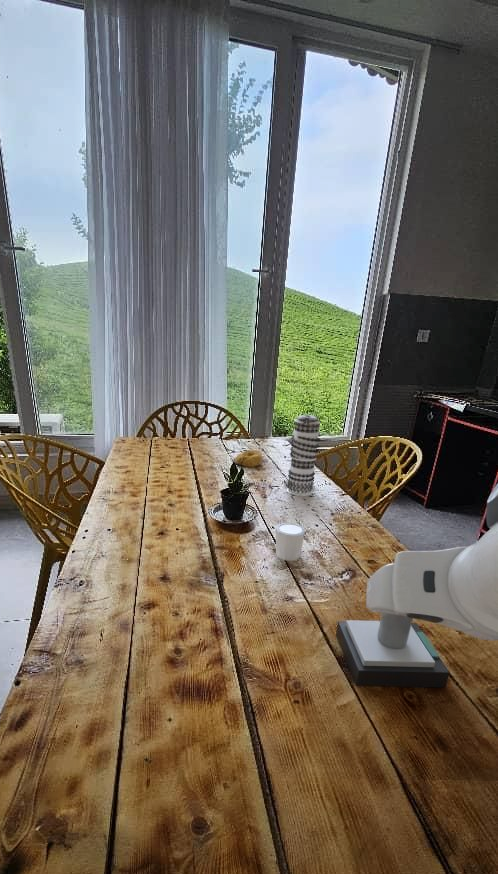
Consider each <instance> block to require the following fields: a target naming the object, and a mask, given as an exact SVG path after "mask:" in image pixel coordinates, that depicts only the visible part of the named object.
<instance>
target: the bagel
mask: <svg viewBox="0 0 498 874" xmlns="http://www.w3.org/2000/svg"><path fill="white" fill-rule="evenodd" d="M262 461H263V456H262V454H261V452H259V451H257V450H254V449H249V450H248V449H247V450H245V451H243V452H241V453H238V455H236V457H235V458H234V460H233V462H234V463H235V464H237V465H239V466H243V467H248V468H249V467H250V468H254V467H258V466H259V465H261V463H262Z"/></svg>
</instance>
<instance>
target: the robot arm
mask: <svg viewBox="0 0 498 874" xmlns="http://www.w3.org/2000/svg"><path fill="white" fill-rule="evenodd" d="M485 513H486V514H485V518H486V519H485V520H486V526H487V528H489V530H488V531H486V532H485V533H484V534H483V535H482V536H481V537H480V538H479V539H478V541H477V542H474V543H472V544H470V545H468V546H457V547H452V548H446V549H438V550H437V549H433V550H432V549H431V550H402V551H399V552H397V553H395V555H394V561H393V562H392V563H387V564H385V565H383V566H381V567H379V569H377V570H376V571H375V572H374V573H372V575H371V576H370V577H369V579H368V580H367V583H366V593H365V604H366V605H365V606H366V609H367V610H368V611H370V612H372V613H378V614H379V613H381V614H382V613H387V614H394V615H399V616H406V617H410V618H413V619H416V620H422V621H426V622H430V623H432V624H433V623H434V624H438V625H441V626H444V627H446V628H449V629H452V630H454V631H458V632H463V633H464V634H466V635H468V636H470V637H473V638H475V639H478V640H484V641H498V483H497V484H496V485H495V486H494V487H493V489H492V491H491V493H490V495H489V496H488V499H487V500H486V511H485Z"/></svg>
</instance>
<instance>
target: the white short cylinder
mask: <svg viewBox="0 0 498 874" xmlns="http://www.w3.org/2000/svg"><path fill="white" fill-rule="evenodd" d="M305 535H306V529H305V528H304V527H303V526H302V525H301V524H297V523H293V522H292V523H291V522H282V523H280V524H277V525H276V526H275V555H276V557H277V558H278V559H280V560H283V561H285V562H287V561H288V562H294V561H298V560H299V559H300V556H301V551H302V549H303V544H304V538H305Z"/></svg>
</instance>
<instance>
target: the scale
mask: <svg viewBox="0 0 498 874" xmlns="http://www.w3.org/2000/svg"><path fill="white" fill-rule="evenodd" d="M379 625H380V620H359V619H357V620H355V619H346V620H338V621H337V626H336V631H335V637H336V639H337V642H338V644H339V646H340V650H341V651H342V654H343V657H344V659H345V662H346V665H347V667H348V669H349V672H350V674H351V677H352V679H353V682H354V685H355V686H356V687H395V688H396V687H403V688H404V687H405V688H446V687H447V683H448V680H449V677H450V675H451V672H450V670H449V669H448V667H447V666H446V664H445V663H444V661H443V660H442V658H441V657H440V654H439V653H438V652H437V650H436V649H435V647H434V646H433V643H431V641H430V640H429V638H428V637H427V636H426V634H425V633H424V632H423V631H422V629H421V628H420V626H419V625H418V623H417V622H412V624H411V628H410V632H409V636H408V640H407V644H406V646H405V647H404V648H401V649H393V648H389V647H387V646H385V645H383V644H382V643H381V642H380V641H379V640H378V637H377V635H378V629H379Z"/></svg>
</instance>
